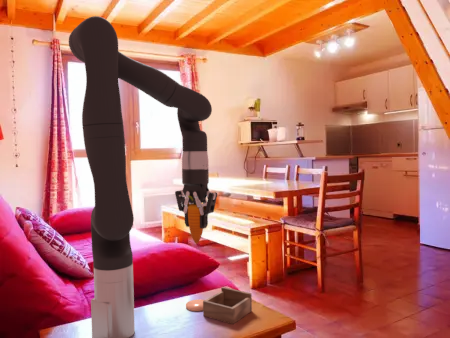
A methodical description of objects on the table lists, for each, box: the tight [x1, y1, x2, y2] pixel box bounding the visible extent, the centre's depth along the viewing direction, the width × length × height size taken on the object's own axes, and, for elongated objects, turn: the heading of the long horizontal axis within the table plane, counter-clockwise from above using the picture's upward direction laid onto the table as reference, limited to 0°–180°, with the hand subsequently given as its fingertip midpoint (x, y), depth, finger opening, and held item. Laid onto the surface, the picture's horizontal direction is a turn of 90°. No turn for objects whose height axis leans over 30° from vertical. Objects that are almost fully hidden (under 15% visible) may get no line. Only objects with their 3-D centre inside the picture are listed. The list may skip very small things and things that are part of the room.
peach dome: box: [185, 298, 206, 312], centre depth 109 cm, size 7×7×1 cm
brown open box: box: [202, 286, 253, 325], centre depth 103 cm, size 10×10×5 cm
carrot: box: [188, 196, 204, 245], centre depth 108 cm, size 5×5×15 cm
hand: (196, 226), depth 108 cm, fingers closed on carrot, 4 cm apart
